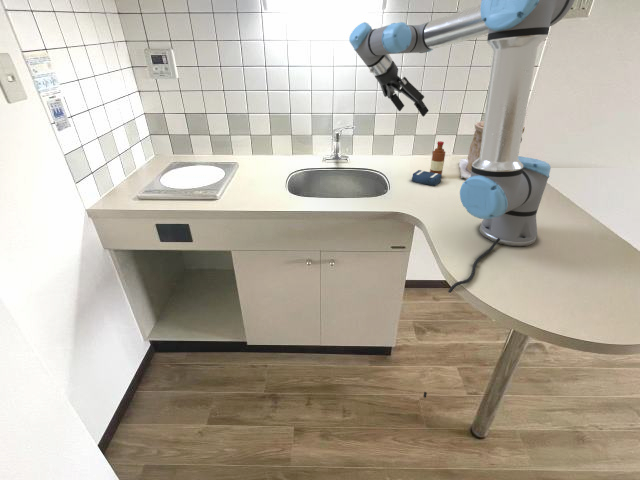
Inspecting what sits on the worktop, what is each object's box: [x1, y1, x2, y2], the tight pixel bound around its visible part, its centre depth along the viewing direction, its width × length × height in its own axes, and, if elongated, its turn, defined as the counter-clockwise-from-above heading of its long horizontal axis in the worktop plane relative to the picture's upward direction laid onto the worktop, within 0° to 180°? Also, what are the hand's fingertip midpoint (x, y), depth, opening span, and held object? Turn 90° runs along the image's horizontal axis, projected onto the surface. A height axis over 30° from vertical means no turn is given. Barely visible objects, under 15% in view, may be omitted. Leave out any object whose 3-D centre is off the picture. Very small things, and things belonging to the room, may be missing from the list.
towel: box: [411, 169, 443, 187], centre depth 144 cm, size 8×10×3 cm
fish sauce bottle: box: [429, 140, 446, 175], centre depth 146 cm, size 5×5×15 cm
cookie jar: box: [458, 120, 526, 180], centre depth 145 cm, size 25×25×32 cm
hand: (413, 110), depth 130 cm, fingers open, 13 cm apart
